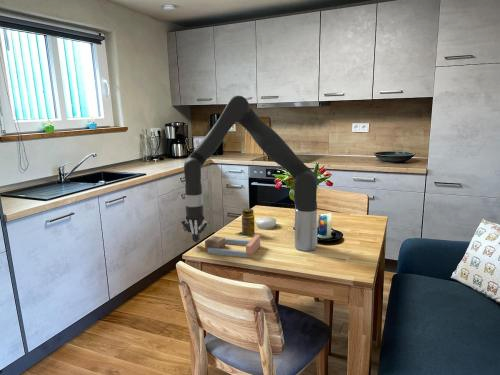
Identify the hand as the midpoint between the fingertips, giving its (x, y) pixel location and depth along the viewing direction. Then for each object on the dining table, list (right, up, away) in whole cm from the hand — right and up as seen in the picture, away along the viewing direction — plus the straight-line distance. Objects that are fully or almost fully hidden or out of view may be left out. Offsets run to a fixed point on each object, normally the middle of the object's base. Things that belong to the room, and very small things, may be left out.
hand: (196, 241), depth 166 cm
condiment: (+22, +1, +14) cm, 26 cm away
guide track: (+17, -3, -5) cm, 18 cm away
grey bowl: (+32, +4, +25) cm, 41 cm away
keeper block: (+9, -3, -2) cm, 9 cm away
